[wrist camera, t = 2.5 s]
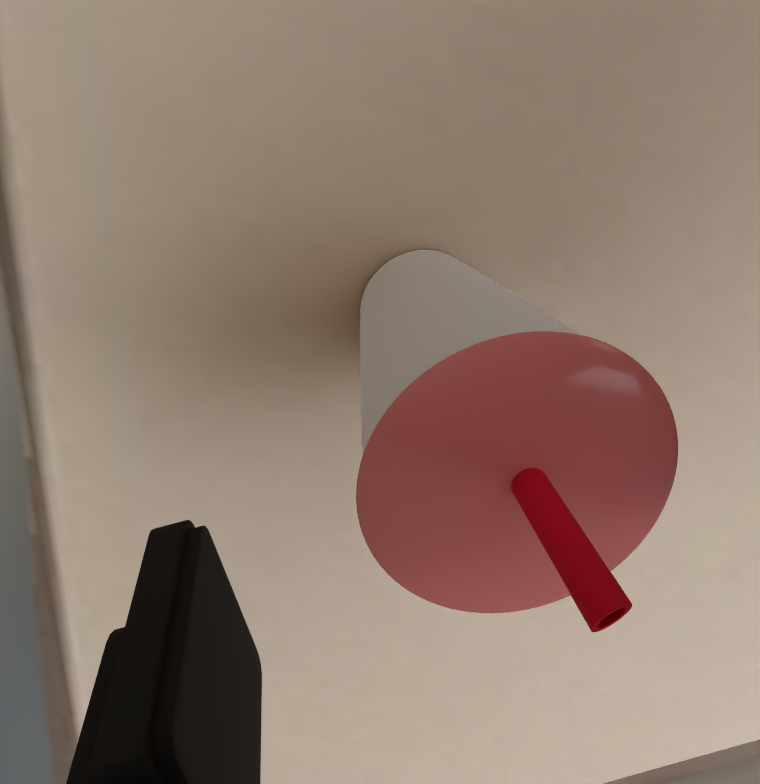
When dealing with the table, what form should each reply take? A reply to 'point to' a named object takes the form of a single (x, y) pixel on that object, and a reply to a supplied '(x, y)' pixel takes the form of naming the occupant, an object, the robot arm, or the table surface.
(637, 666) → the table surface
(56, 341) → the table surface
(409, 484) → the cup
